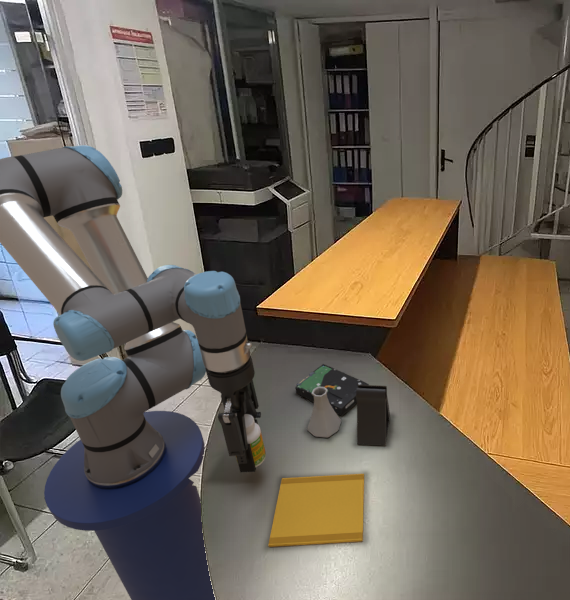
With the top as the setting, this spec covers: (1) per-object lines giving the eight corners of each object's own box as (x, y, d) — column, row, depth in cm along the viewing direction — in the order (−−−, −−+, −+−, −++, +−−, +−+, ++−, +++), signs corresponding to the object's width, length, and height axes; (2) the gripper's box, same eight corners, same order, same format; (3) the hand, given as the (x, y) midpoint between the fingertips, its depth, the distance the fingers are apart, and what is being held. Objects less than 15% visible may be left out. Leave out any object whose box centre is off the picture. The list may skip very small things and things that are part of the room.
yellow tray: (268, 547, 82) (268, 545, 82) (282, 479, 94) (281, 477, 94) (362, 541, 83) (362, 539, 82) (364, 475, 95) (364, 473, 94)
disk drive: (370, 392, 116) (323, 371, 124) (369, 383, 115) (322, 362, 122) (342, 418, 109) (295, 394, 116) (341, 408, 108) (293, 385, 115)
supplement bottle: (259, 471, 90) (250, 433, 85) (232, 467, 91) (221, 430, 86) (270, 449, 95) (262, 412, 90) (244, 446, 96) (235, 409, 91)
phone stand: (385, 446, 101) (382, 402, 95) (357, 444, 102) (352, 401, 96) (390, 416, 109) (388, 374, 103) (364, 415, 109) (360, 373, 103)
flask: (320, 411, 111) (315, 376, 106) (347, 420, 108) (343, 385, 103) (301, 432, 105) (295, 397, 100) (329, 442, 102) (324, 406, 98)
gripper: (237, 396, 73) (261, 497, 85) (261, 329, 89) (279, 422, 101) (187, 399, 73) (218, 499, 85) (220, 331, 89) (243, 423, 101)
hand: (251, 457), depth 93 cm, fingers closed on supplement bottle, 5 cm apart
